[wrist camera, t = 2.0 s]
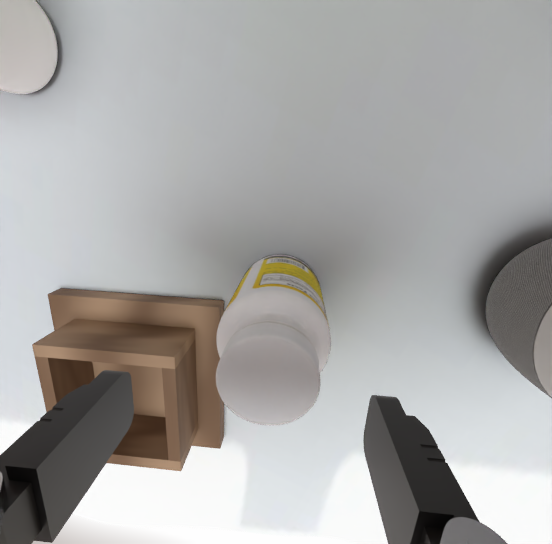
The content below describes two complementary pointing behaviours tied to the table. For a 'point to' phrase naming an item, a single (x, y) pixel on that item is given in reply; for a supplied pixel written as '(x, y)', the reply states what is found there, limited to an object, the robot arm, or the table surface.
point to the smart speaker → (525, 314)
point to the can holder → (140, 367)
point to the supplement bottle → (273, 342)
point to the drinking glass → (25, 47)
